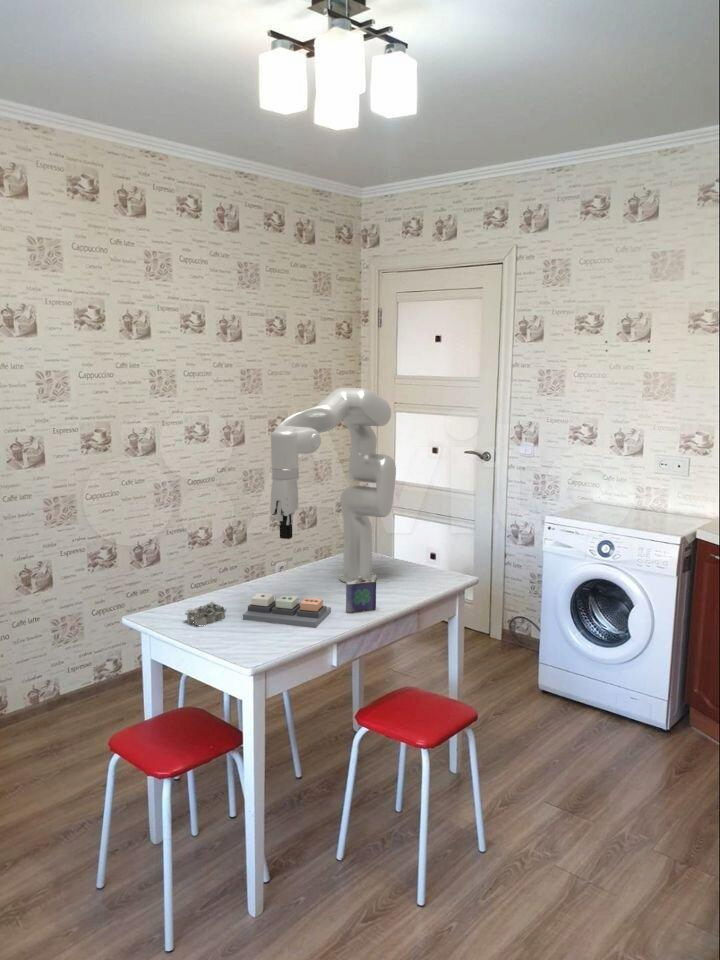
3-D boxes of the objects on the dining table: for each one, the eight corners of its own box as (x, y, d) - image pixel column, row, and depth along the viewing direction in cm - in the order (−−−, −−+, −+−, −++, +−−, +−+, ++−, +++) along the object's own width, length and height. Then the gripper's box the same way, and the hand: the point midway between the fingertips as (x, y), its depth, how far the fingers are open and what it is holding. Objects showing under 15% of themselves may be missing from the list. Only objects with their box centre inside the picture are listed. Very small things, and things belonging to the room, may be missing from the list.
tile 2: (282, 601, 220) (282, 594, 220) (298, 603, 219) (298, 596, 219) (275, 607, 216) (275, 599, 215) (292, 608, 214) (291, 601, 214)
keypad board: (261, 605, 227) (261, 595, 227) (330, 612, 221) (330, 602, 220) (242, 619, 215) (242, 609, 214) (315, 627, 209) (315, 617, 208)
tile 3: (306, 604, 218) (306, 596, 218) (322, 605, 217) (322, 598, 217) (300, 609, 214) (300, 602, 213) (317, 611, 212) (316, 604, 212)
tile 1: (258, 599, 223) (258, 592, 222) (274, 600, 221) (274, 593, 221) (251, 604, 218) (251, 597, 218) (267, 606, 216) (267, 599, 216)
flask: (347, 614, 220) (347, 578, 218) (344, 610, 222) (344, 575, 221) (377, 610, 223) (377, 575, 221) (373, 607, 225) (374, 572, 224)
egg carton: (198, 629, 209) (198, 615, 208) (182, 622, 213) (182, 608, 213) (229, 618, 216) (229, 605, 216) (213, 612, 221) (212, 599, 221)
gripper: (282, 469, 219) (283, 531, 222) (261, 477, 205) (263, 543, 208) (307, 470, 217) (307, 533, 220) (287, 479, 203) (288, 545, 206)
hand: (286, 537), depth 214 cm, fingers closed
